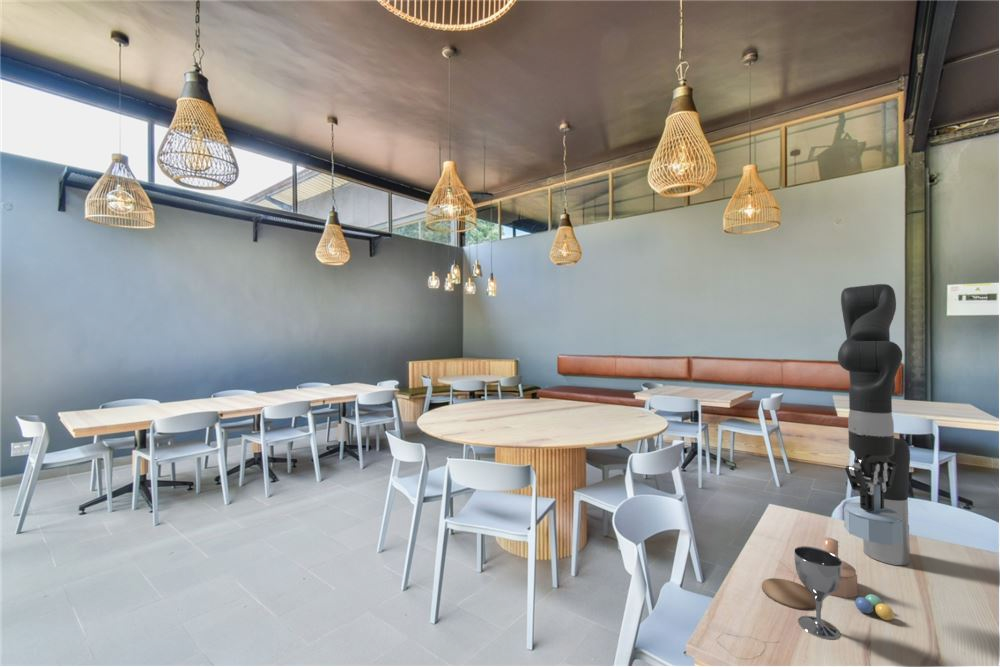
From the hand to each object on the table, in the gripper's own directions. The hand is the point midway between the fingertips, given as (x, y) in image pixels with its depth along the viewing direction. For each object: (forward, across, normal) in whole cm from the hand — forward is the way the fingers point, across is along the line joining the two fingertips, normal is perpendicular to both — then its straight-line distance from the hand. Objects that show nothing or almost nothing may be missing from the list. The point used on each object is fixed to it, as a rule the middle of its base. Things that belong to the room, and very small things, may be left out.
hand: (872, 508), depth 91 cm
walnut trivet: (+23, +11, -11) cm, 28 cm away
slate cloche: (+6, 0, 0) cm, 6 cm away
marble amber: (+23, 0, +2) cm, 23 cm away
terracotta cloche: (+23, -2, -10) cm, 25 cm away
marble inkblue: (+23, +2, -1) cm, 23 cm away
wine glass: (+23, +16, -1) cm, 28 cm away
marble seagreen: (+23, -2, -1) cm, 23 cm away
